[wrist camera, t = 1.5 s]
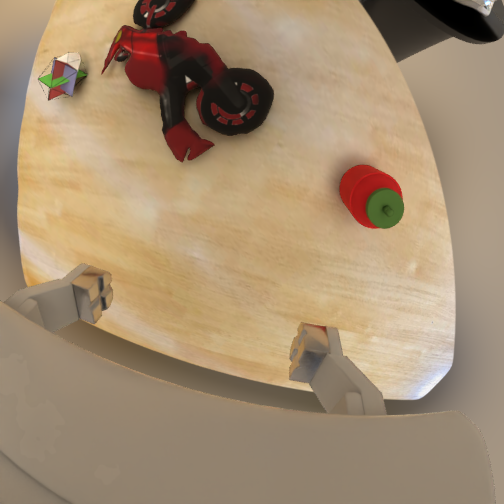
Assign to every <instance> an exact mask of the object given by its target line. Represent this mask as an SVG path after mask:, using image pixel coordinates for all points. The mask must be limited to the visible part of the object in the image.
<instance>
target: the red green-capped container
mask: <svg viewBox="0 0 504 504" xmlns="http://www.w3.org/2000/svg"><path fill="white" fill-rule="evenodd" d="M340 196H341V199H342V201H343V203H344V204H345V205H346V207H347V208H348V210H349V211H350V212H351V214H352V215H353V217H354V218H355V219H356V220H357V221H358V222H359V223H360V224H361V225H363V226H365V227H368V228H374V229H376V228H383V229H385V228H391V227H393V226H395V225H396V224H397V223H398V222H399V221H400V220H401V218H402V216H403V212H404V203H403V198H402V191H401V188H400V186H399V184H398V183H397V182H396V180H395V179H393V178H392V177H391V176H389V175H388V174H386V173H384V172H382V171H380V170H378V169H376V168H374V167H371V166H368V165H357V166H354V167H352V168H351V169H349V170H348V171H347V172H346V173H345V174H344V176H343V177H342V179H341V182H340Z"/></svg>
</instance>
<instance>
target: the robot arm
mask: <svg viewBox="0 0 504 504" xmlns="http://www.w3.org/2000/svg"><path fill="white" fill-rule="evenodd" d="M452 1H454V2H456V3H458V4H460V5H463V6H466V7H469V8H472V9H474V10H475V11H477V12H478V13H479V14H481V15H482V16H485V17H486V16H488V15H489V14H490V11H491V9H492V6H493V4H494V1H496V0H452ZM111 282H112V276H111V274H110V273H109V272H107V271H105V270H102V269H99V268H96V267H93V266H90V265H88V264H85V263H81V264H80V265H79V266H77V267H76V268H75V269H74V270H72V271H71V272H70V273H69V274H68V275H66V276H65V277H64V278H63V279H62V280H61V279H57V280H53V281H49V282H45V283H42V284H38V285H35V286H31V287H27V288H24V289H21V290H18V291H16V292H15V293H14V294H13V295H12V296H11V297H10V298H8V299H7V300H6V301H5V302H4V303H3V302H2V301H0V504H496V500H495V489H494V481H493V475H492V469H491V464H490V459H489V455H488V451H487V447H486V443H485V440H484V437H483V435H482V433H481V431H480V430H479V429H478V427H477V426H476V425H475V424H474V423H473V422H472V421H471V420H470V419H469V418H467V417H466V416H465V415H464V414H462V413H461V412H460V411H445V412H437V413H426V414H412V415H387V413H386V409H385V405H384V400H383V396H382V393H381V392H380V391H379V390H378V389H377V388H376V386H375V385H374V384H373V383H372V382H371V381H370V380H369V379H368V378H367V377H366V376H365V375H364V374H363V373H362V372H361V371H360V370H359V369H358V368H357V367H356V366H355V365H354V364H353V362H352V361H351V360H350V359H349V358H348V357H347V356H343V351H342V347H341V342H340V337H339V332H338V329H337V328H334V327H328V326H320V325H314V324H309V323H304V322H301V323H300V325H299V327H298V335H297V336H296V337H294V339H293V342H292V345H291V349H290V360H291V362H292V363H291V365H290V367H289V380H293V381H299V382H304V383H310V384H309V385H310V386H311V388H312V389H313V391H314V393H315V394H316V396H317V397H318V399H319V401H320V402H321V404H322V405H323V407H324V409H325V410H326V412H327V413H328V414H326V413H315V412H305V411H297V410H289V409H282V408H276V407H269V406H263V405H258V404H252V403H247V402H242V401H237V400H232V399H228V398H224V397H220V396H216V395H212V394H207V393H204V392H200V391H196V390H193V389H189V388H186V387H182V386H179V385H176V384H172V383H169V382H166V381H163V380H160V379H157V378H154V377H151V376H148V375H146V374H143V373H140V372H137V371H134V370H132V369H129V368H127V367H124V366H122V365H119V364H117V363H114V362H112V361H110V360H107V359H105V358H103V357H100V356H98V355H96V354H94V353H91V352H89V351H87V350H85V349H83V348H81V347H79V346H77V345H75V344H73V343H71V342H69V341H67V340H65V339H63V338H61V337H59V336H57V335H55V334H54V333H53V332H55V331H57V330H59V329H61V328H63V327H65V326H67V325H69V324H71V323H73V322H75V321H77V320H79V318H80V319H82V320H85V321H87V322H90V323H92V324H95V323H96V322H97V321H98V320H99V318H100V317H101V316H102V311H104V310H106V309H108V308H109V306H110V305H111V302H112V300H113V289H112V287H111V286H110V283H111Z"/></svg>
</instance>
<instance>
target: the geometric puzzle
mask: <svg viewBox="0 0 504 504" xmlns="http://www.w3.org/2000/svg"><path fill="white" fill-rule="evenodd" d="M80 62H81V57H80V54H79V52H78V53H74V52H68V53H66V54H64V55H63V56H61V57H60V56H59V58H55V57H54V61H53V66H52V71H51V74H49V75H46V76H44V77H41V78H39V79H38V81H39V80H40V81H41V82H42V83H44V84H45V85H47V86H48V87H49V88H50V92H49V95H48V98H47V99H48V101H49V100H50V99H52V100H53V98H55V97H57V96H59V95H62V94H65V93H66V92H67V93H68V94H69V96H70V95H71V97H73V95H74V94H73V91H74V87H75V86H76V85H77V84H78V83H79V82H78V83H77V84H76V85H75V82H76V79H77V78H80V77H83V76H85V77H86V76H87V75H88V74H86V73H84V72H83V71H81V70H79V65H80ZM50 63H51V62H50ZM82 63H83V62H82ZM46 68H47V67H46ZM84 68H85V67H84ZM44 72H45V71H43V73H44ZM43 73H42V74H43ZM85 77H84V78H85ZM84 78H83V79H84ZM39 83H40V82H39ZM40 85H41V84H40ZM80 85H81V84H80ZM41 87H42V86H41ZM42 89H43V88H42ZM43 91H44V90H43ZM44 93H45V92H44ZM68 94H67V95H68ZM45 95H46V94H45ZM46 97H47V96H46ZM64 98H65V97H64ZM58 99H59V98H58Z"/></svg>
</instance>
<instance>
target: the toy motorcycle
mask: <svg viewBox="0 0 504 504" xmlns="http://www.w3.org/2000/svg"><path fill="white" fill-rule="evenodd" d="M193 2H194V0H139V1H138V2H137V4H136V6H135V8H134V14H133V18H134V23H135V24H138V25H139V26H142V27H143V29H142V30H137V29H134V28H133V27H131V26H127V25H124V26H122V27H121V29H120V30H119V31H118V33H117V35H116V36H115V38H114V41H113V43H112V45H111V48H110V50H109V53H108V56H107V58H106V59H105V64H104V68H103V70H102V74H103V72H104V71H105V69H106V68H107V67H108V65H109V64H110V62H111V60H112V59H113V57H114V55H115V53H116V52H117V50H118V49H119V51H118V52H117V54H116V55H115V57H114V60H115V61H118V62H122V61H125V60H126V59H127V58H128V53H127V54H124V53H123V51H125V50H126V51H127V52H129V53H130V54H131V56H130V59H129V60H128V62H127V63H126V65H125V72H126V75H127V76H128V78H129V80H130V81H131V82H132V83H133V84H134V85H135V86H137V87H139V88H142V89H151V90H155V91H157V92H158V93H159V95H160V109H161V117H162V121H163V128H162V131H163V134H164V137H165V140H166V142H167V145H168V146H169V148H170V149H171V151H172V152H173V154H174V156H175V157H176V159H177V160H179V161H181V162H183V161H184V158H185V155H186V153H187V150H188V149H189V148H190V153H189V155H188V158H187V159H188V160H193V159H194V158H196V157H197V156H199V155H200V154H202V153H203V152H205V151H206V150H208V149H209V148H211V147H212V146H214V145H215V144H214V143H212V142H211V141H208V140H206V139H201V138H200V137H199V135H198V134H197V133H196V132H195V131H194V130H192V128H191V127H190V125H189V124H188V122H187V121H186V119H185V117H184V105H185V97H186V94H187V93H188V92H189V91H191V90H193V89H195V88H197V87H201V91H200V93H199V95H198V97H197V101H196V106H197V109H198V112H199V116H200V119H201V121H202V123H203V124H204V125H206V126H208V127H210V128H211V129H213V130H215V131H217V132H219V133H221V134H224V135H228V136H233V135H238V134H247V133H249V132H251V131H252V130H254V129H256V128H257V127H259V126H260V125H261V124H262V123H263V122H264V120H265V119H266V117H267V114H268V113H269V110H270V108H271V105H272V101H273V98H274V91H273V89H272V87H271V86H270V84H269V83H268V81H267V80H266V79H264V78H263V77H262V76H261V75H260V74H259V73H257V72H255V71H254V70H251V69H242V68H230V69H228V68H227V66H226V65H225V64H224V63H223V62H222V60H221V58H220V57H219V55H218V54H217V53H216V51H215V50H214V49H213V47H211V46H210V44H208V43H199V42H198V41H197V40H196V39H194V38H189V37H187V33H186V31H179V32H177V33H176V34H173V33H172V32H171V31H170V30H168V31H165V32H163V28H160V27H163V26H166V25H168V24H170V23H172V22H174V21H175V20H177V19H178V18H179V17H180V16H182V15H183V14H184V13H185V11H186V10H187V9H188V8H189V7H190V6H191V5H192V3H193ZM102 74H101V75H102Z"/></svg>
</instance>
